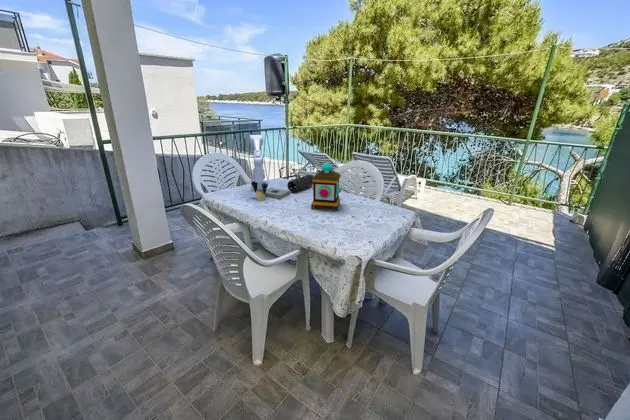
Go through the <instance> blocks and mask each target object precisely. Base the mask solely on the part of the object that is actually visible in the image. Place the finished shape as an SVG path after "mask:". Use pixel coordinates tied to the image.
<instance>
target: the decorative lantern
mask: <svg viewBox="0 0 630 420" xmlns="http://www.w3.org/2000/svg"><path fill="white" fill-rule="evenodd" d="M313 176H314V177H313V178H312V181H313V185H311V189H312V192H313V193H312V194H313V195H312V196H313V197H312V202H311V205H310V208H311V210H314V209H315V208H314V207H325V208H327V207H328V208H334V211H335V212H337V211H338V206H339V204H340V203H341V198H340V195H339V194H341V192H342V188H341V187H340V179H341V176H342V174H341V173H339V172H336V171H335V170H334V169H333V166H332V165H331V164H330V163H329V162H325V163H324V164H323V165H322V166H321V170H319V171H318V172H316V174H314V175H313Z"/></svg>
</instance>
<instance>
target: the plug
mask: <svg viewBox="0 0 630 420" xmlns="http://www.w3.org/2000/svg"><path fill="white" fill-rule="evenodd" d="M255 194H256V200H257V199H260V200H259V201H263V200H264V199H265V197H264V194H263V189H258V190H256V192H255ZM262 199H263V200H262Z"/></svg>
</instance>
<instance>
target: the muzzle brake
mask: <svg viewBox="0 0 630 420" xmlns="http://www.w3.org/2000/svg"><path fill="white" fill-rule="evenodd" d="M314 176H315V175H313V174H305V175H304V176H301V177H298V178H296V179H295V178H294V179H292V180H289V181H288V183H287V186H286V187H287V189H288V191H290V193H296V192H298V191H300V190H301V191H302V189H307V188H308V187H310V186H311V187H312V186H313V181H312V178H313V177H314Z"/></svg>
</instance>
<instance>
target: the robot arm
mask: <svg viewBox="0 0 630 420" xmlns="http://www.w3.org/2000/svg"><path fill="white" fill-rule="evenodd" d="M249 143H250V146H252V147H253V148H254V150H253V166H254V167H253V169H252V171H251V172H252V175H251V177H252V178H250V185H251V191H252V190H254V191H253V192H254V193H256V190H258V189H263V194H265V193H266V190H267V189H268V186H269V182H270V181H269V180H266V172H265V168H264V157H263V154H262V153H263V152H262V150H261V147H262V146H263V145H264V135H263V134H249Z"/></svg>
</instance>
